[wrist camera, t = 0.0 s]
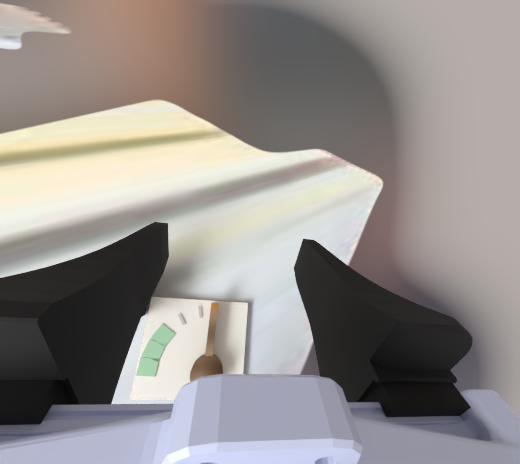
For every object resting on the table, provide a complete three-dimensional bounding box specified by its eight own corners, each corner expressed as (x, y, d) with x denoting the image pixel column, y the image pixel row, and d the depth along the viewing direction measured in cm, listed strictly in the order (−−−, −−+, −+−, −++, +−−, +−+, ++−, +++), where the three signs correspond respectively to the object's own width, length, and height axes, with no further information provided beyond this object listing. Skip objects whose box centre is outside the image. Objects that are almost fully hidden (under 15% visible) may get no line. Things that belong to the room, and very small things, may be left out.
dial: (220, 388, 36) (221, 393, 34) (189, 388, 35) (187, 393, 33) (229, 304, 40) (229, 303, 38) (201, 302, 40) (200, 301, 37)
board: (240, 397, 37) (241, 399, 36) (131, 397, 34) (128, 400, 33) (247, 303, 42) (248, 302, 41) (153, 297, 39) (151, 296, 38)
